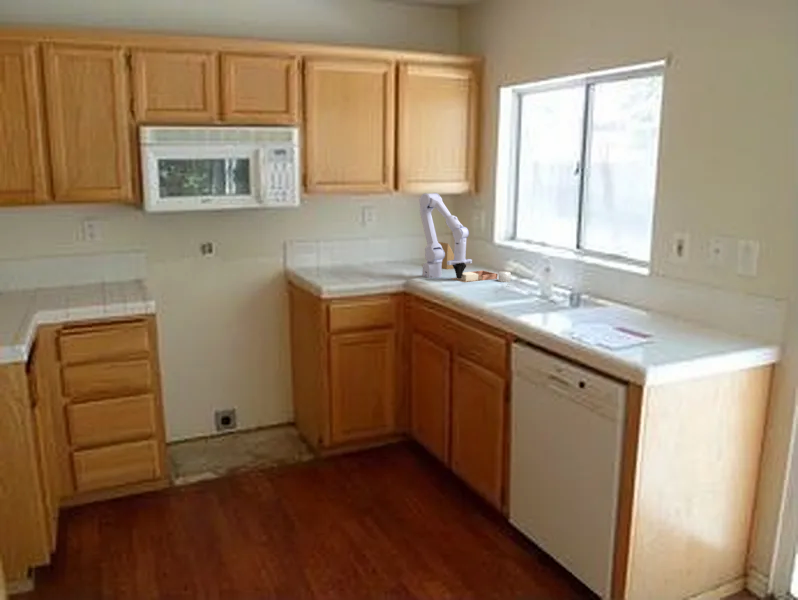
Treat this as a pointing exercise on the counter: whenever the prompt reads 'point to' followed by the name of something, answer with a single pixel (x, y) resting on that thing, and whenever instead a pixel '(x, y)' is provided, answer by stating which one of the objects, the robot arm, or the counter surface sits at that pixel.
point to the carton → (469, 276)
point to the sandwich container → (447, 255)
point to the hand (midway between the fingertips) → (458, 278)
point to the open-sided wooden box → (481, 276)
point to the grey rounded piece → (504, 276)
